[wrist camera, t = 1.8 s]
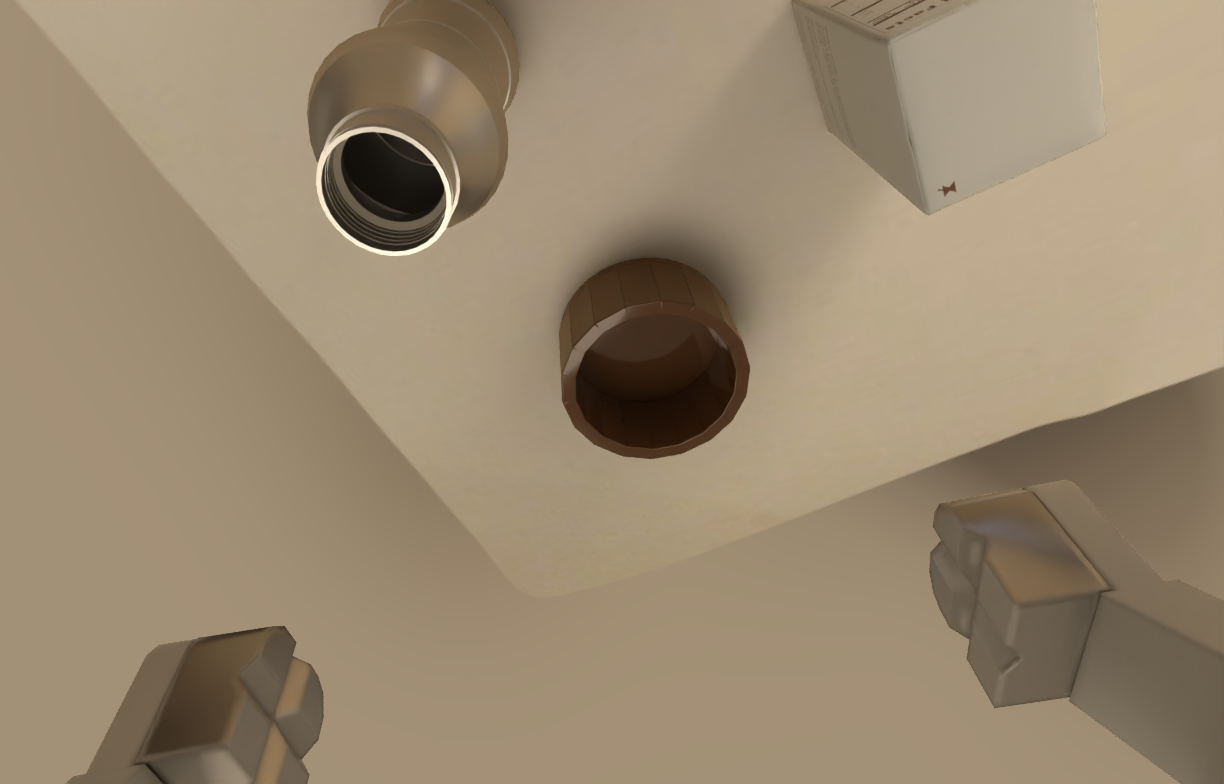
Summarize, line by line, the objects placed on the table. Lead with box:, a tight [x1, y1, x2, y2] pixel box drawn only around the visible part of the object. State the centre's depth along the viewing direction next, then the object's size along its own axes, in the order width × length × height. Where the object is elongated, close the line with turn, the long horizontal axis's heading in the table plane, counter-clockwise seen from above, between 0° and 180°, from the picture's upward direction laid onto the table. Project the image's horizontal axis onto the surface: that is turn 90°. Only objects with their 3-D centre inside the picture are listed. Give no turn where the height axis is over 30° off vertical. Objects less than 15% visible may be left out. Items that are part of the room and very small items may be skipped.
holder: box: [559, 258, 750, 459], centre depth 45 cm, size 11×11×6 cm
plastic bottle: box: [307, 0, 519, 256], centre depth 29 cm, size 6×7×20 cm
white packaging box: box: [792, 0, 1106, 215], centre depth 33 cm, size 7×7×13 cm
